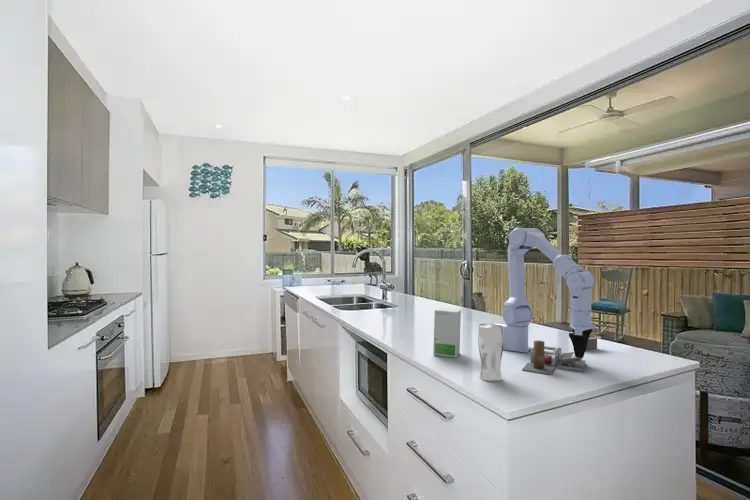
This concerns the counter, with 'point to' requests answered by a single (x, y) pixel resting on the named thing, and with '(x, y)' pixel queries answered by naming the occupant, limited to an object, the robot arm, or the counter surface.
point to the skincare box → (447, 332)
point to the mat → (546, 370)
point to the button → (547, 358)
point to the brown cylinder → (539, 354)
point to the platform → (592, 341)
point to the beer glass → (491, 351)
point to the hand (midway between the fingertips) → (580, 354)
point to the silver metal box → (555, 362)
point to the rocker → (569, 358)
